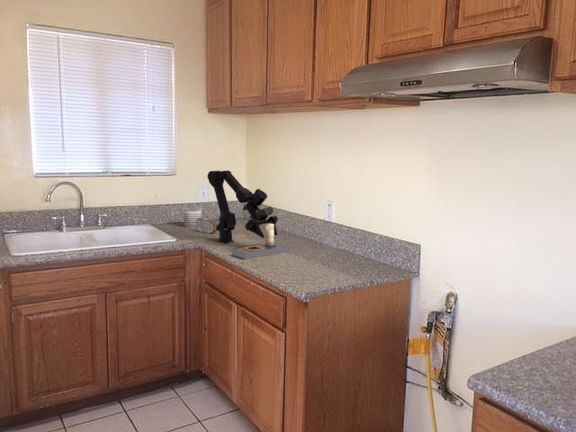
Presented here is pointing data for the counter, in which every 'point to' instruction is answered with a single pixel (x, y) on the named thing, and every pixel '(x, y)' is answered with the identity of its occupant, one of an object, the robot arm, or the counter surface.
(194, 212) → the can
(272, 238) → the peg
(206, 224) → the tin
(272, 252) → the silver slotted plate
